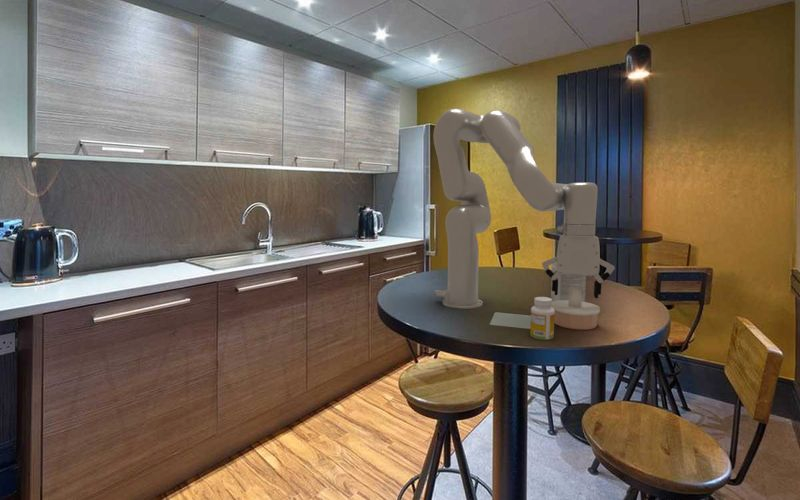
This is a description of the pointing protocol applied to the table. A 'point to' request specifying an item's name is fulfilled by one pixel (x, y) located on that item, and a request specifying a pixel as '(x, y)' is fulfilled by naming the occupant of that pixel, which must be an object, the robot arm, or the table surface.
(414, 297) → the table surface
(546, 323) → the supplement bottle
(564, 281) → the supplement tub
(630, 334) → the table surface
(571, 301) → the lid
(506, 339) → the table surface
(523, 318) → the mat
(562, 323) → the bowl
